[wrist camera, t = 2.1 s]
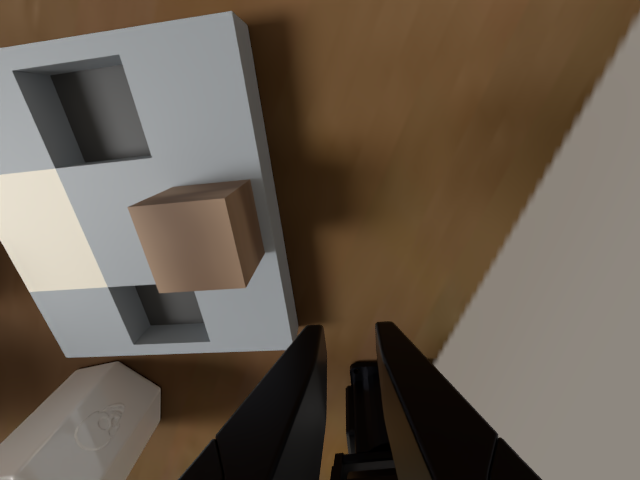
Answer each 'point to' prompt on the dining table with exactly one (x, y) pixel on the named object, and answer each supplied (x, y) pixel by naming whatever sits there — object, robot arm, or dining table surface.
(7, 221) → the trap deck
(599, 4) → the dining table surface
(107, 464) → the jar
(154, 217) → the walnut block
